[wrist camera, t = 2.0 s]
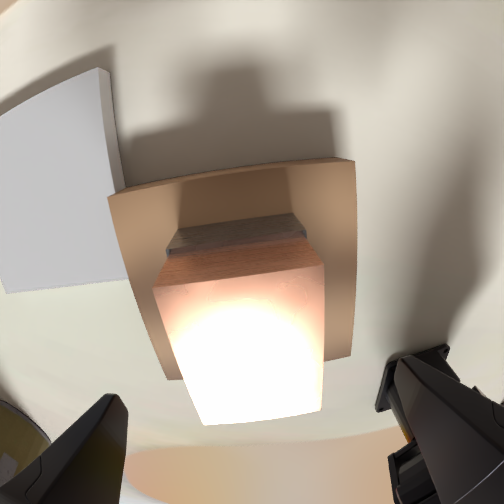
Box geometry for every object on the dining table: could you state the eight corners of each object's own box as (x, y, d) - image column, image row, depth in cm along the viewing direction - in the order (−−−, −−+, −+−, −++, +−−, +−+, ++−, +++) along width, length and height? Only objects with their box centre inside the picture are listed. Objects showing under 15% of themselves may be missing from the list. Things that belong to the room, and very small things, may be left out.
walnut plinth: (338, 331, 18) (350, 355, 16) (173, 353, 18) (167, 380, 16) (335, 157, 14) (354, 161, 12) (125, 187, 14) (106, 197, 12)
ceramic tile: (144, 266, 16) (137, 277, 14) (17, 283, 15) (6, 293, 14) (109, 72, 11) (98, 66, 10) (-18, 136, 11) (-32, 138, 10)
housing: (300, 340, 15) (322, 412, 10) (208, 352, 15) (202, 427, 10) (292, 212, 12) (327, 257, 8) (177, 228, 12) (146, 282, 8)
